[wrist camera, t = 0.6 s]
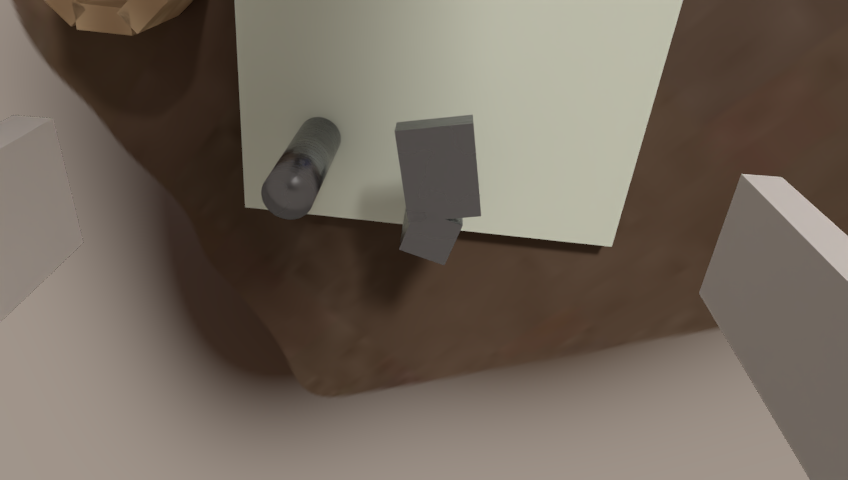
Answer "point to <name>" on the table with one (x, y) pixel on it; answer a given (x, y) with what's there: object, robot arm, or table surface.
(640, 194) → the table surface
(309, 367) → the table surface
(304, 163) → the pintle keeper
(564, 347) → the table surface
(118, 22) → the link
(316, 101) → the board
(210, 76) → the table surface
